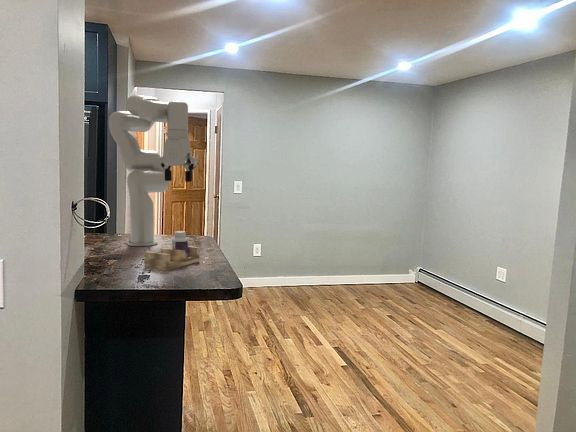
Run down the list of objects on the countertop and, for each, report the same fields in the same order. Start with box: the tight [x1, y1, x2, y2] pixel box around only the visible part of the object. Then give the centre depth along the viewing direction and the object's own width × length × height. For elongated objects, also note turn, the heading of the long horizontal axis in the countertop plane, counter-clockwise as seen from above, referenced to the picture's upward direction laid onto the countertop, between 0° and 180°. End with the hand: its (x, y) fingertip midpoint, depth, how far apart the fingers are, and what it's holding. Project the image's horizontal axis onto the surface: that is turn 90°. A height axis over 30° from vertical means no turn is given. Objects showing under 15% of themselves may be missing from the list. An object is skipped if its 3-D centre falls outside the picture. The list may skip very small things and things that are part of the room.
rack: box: [144, 245, 200, 271], centre depth 162 cm, size 10×17×5 cm, turn 154°
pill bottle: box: [171, 230, 189, 258], centre depth 165 cm, size 5×5×10 cm
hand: (178, 181), depth 175 cm, fingers open, 9 cm apart
